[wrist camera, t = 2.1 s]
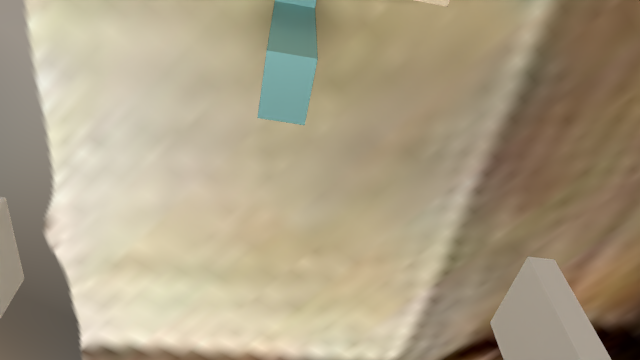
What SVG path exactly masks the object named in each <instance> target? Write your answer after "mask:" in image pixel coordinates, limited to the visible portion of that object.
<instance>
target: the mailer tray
mask: <svg viewBox="0 0 640 360" xmlns="http://www.w3.org/2000/svg"><path fill="white" fill-rule="evenodd" d="M315 6H316V0H275V3H274V10H273V16H272V22H271V28H270V34H269V40H268V46H267V52H266V60H265V67H264V74H263V82H262V89H261V97H260V104H259V111H258V118H262V119H268V120H274V121H281V122H287V123H294V124H300V125H305V120H306V115H307V110H308V105H309V100H310V95H311V90H312V85H313V80H314V75H315V70H316V65H317V60H318V57H317V38H316V18H315Z"/></svg>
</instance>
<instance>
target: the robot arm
mask: <svg viewBox="0 0 640 360" xmlns="http://www.w3.org/2000/svg"><path fill="white" fill-rule="evenodd" d="M23 280H24V275H23V271H22V266H21V262H20V258H19V254H18V249H17V245H16V241H15V237H14V232H13V228H12V223H11V219H10V215H9V210H8V206H7V202H6V198H5V197H0V318H1V317H2V315H3V313H4V312H5V310H6V308H7V307H8V305H9V303H10V302H11V300H12V298H13V297H14V295H15V293H16V292H17V290H18V288H19V287H20V285H21V283H22V281H23ZM490 324H491V327H492V329H493V332H494V335H495V337H496V340H497V343H498V345H499V348H500V351H501V354H502V356H503V359H504V360H611V358H610V356H609V355H608V353H607V351H606V349H605V348H604V346H603V344H602V342H601V341H600V339H599V337H598V335H597V334H596V332H595V330H594V328H593V326H592V325H591V323H590V321H589V319H588V318H587V316H586V314H585V312H584V311H583V309H582V307H581V305H580V304H579V302H578V300H577V298H576V297H575V295H574V293H573V291H572V290H571V288H570V286H569V284H568V282H567V281H566V279H565V277H564V275H563V274H562V272H561V270H560V268H559V267H558V265H557V263H556V261H555V260H554V259H545V258H536V257H527V259H526V261H525V262H524V264H523V266H522V268H521V269H520V271H519V273H518V275H517V276H516V278H515V280H514V282H513V283H512V285H511V287H510V289H509V290H508V292H507V294H506V296H505V297H504V299H503V301H502V303H501V304H500V306H499V308H498V310H497V311H496V313H495V315H494V317H493V318H492V320H491V322H490Z"/></svg>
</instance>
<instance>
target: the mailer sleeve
mask: <svg viewBox="0 0 640 360" xmlns="http://www.w3.org/2000/svg"><path fill="white" fill-rule="evenodd" d="M415 1H420V2H425V3H431V4H436V5H441V6H446V7H448V4H449V1H450V0H415Z"/></svg>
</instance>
